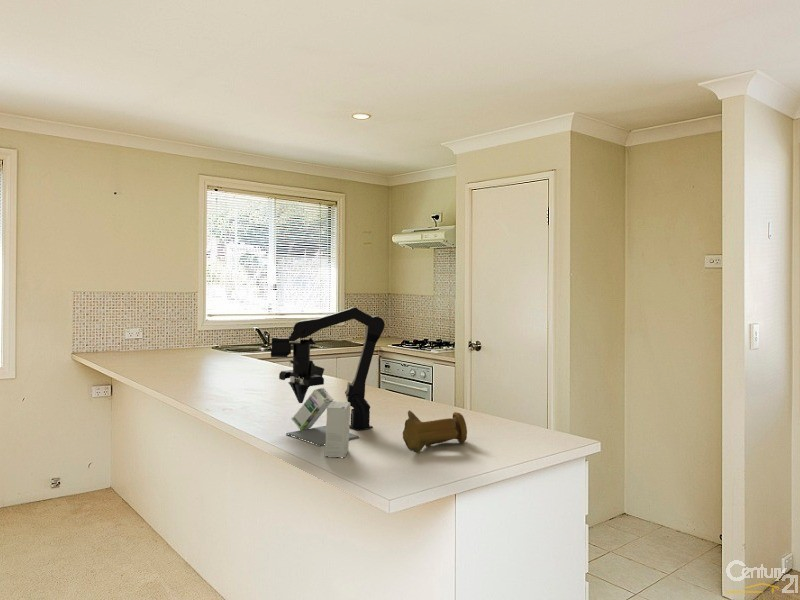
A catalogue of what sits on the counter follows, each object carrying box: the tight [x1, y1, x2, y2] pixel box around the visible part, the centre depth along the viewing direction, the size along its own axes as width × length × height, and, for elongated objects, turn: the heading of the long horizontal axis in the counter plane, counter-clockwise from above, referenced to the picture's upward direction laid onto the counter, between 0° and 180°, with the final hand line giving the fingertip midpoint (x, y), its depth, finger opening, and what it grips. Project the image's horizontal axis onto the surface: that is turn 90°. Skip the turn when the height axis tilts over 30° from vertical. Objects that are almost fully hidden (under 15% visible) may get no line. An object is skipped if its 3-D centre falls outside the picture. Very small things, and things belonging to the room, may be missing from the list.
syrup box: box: [291, 387, 334, 431], centre depth 199 cm, size 6×6×14 cm
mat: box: [285, 425, 360, 446], centre depth 192 cm, size 18×16×1 cm
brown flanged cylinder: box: [402, 410, 468, 453], centre depth 183 cm, size 18×13×22 cm
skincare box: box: [324, 400, 351, 458], centre depth 172 cm, size 8×6×15 cm
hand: (300, 403), depth 201 cm, fingers closed
